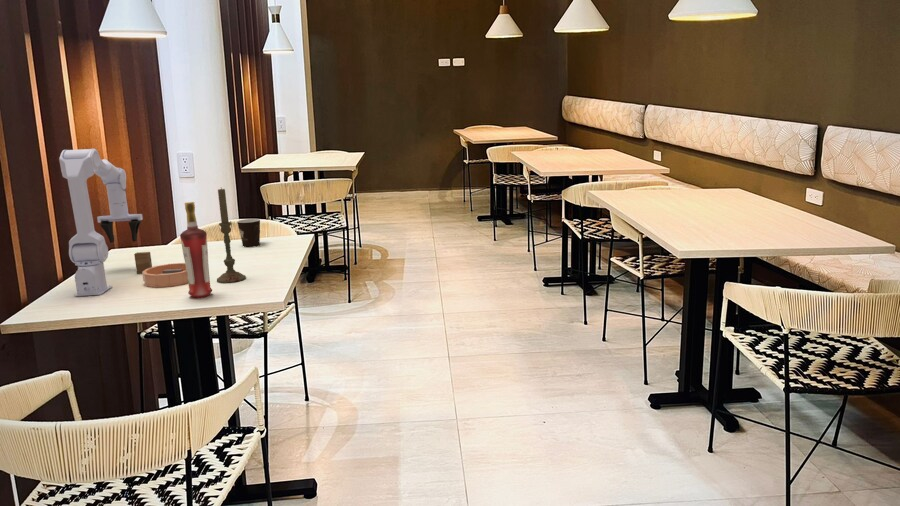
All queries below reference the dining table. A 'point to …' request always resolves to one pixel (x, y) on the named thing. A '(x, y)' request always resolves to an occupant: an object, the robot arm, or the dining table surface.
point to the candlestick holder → (227, 243)
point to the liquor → (195, 255)
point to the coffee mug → (249, 232)
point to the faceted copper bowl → (165, 275)
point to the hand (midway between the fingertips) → (123, 241)
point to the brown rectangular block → (142, 261)
